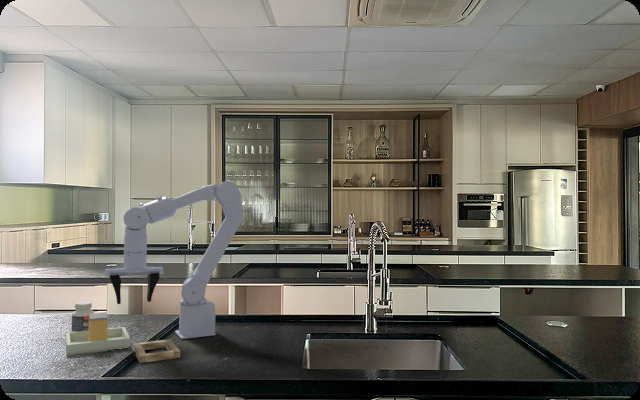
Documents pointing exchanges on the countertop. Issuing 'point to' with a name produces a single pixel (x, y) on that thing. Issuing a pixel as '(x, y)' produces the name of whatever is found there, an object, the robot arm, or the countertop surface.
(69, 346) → the tray
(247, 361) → the countertop surface
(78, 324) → the pill bottle
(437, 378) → the countertop surface
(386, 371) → the countertop surface
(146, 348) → the socket block
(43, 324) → the countertop surface
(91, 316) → the tan boxy piece
